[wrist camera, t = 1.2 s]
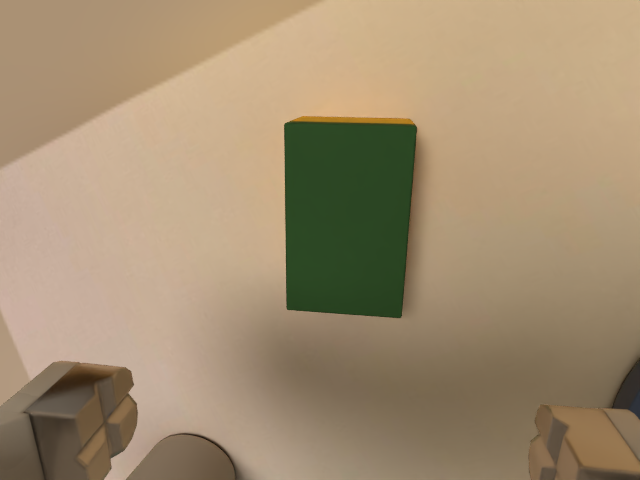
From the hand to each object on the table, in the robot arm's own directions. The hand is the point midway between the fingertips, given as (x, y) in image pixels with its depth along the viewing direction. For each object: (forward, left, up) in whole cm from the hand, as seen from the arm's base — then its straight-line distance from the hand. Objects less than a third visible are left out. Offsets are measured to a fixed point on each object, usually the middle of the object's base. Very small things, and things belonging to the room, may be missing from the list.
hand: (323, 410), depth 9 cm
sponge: (-1, 0, -14) cm, 14 cm away
